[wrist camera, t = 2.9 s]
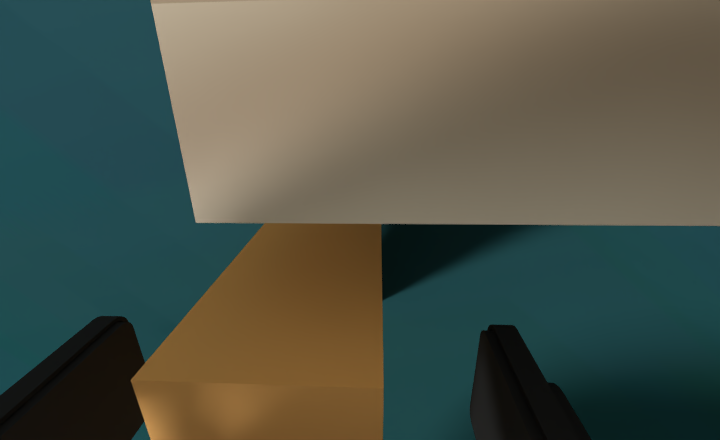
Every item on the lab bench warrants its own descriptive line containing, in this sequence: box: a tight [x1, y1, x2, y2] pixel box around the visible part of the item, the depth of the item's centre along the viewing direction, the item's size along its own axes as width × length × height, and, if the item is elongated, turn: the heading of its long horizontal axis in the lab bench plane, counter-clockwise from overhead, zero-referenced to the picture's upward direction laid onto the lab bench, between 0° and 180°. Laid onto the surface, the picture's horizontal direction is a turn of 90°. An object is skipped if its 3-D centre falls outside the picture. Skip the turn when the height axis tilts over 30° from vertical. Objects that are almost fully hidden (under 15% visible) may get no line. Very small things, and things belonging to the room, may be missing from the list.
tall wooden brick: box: [131, 223, 384, 440], centre depth 11 cm, size 5×4×10 cm
